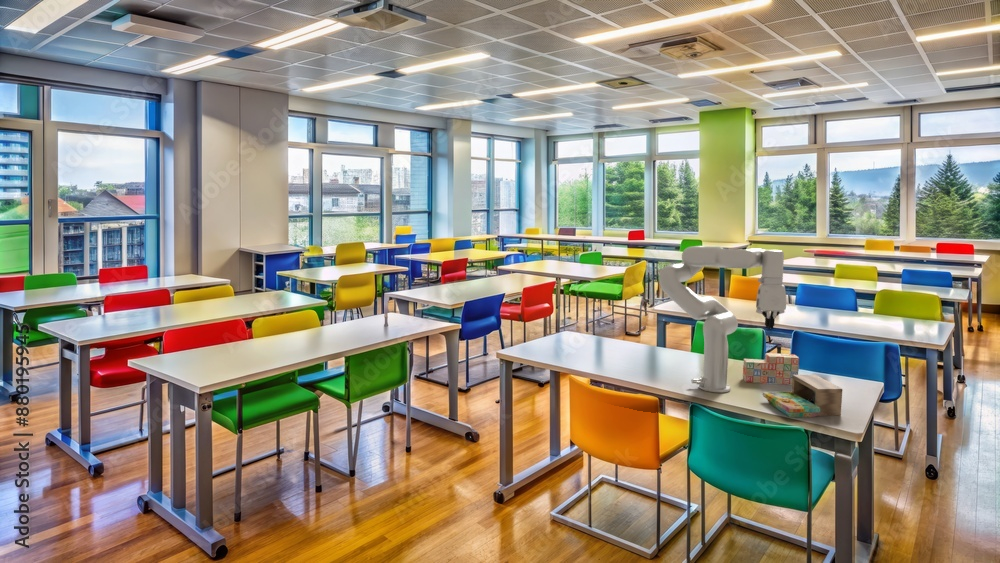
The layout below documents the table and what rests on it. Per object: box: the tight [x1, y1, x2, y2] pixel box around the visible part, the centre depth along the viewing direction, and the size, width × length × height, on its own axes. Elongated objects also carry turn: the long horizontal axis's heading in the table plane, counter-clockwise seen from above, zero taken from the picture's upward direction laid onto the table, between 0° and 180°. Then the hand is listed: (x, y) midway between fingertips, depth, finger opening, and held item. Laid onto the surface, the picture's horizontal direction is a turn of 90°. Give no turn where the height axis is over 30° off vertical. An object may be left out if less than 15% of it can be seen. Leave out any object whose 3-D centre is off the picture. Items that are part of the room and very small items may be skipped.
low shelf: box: [791, 374, 843, 416], centre depth 230 cm, size 9×19×10 cm, turn 0°
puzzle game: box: [761, 391, 820, 418], centre depth 229 cm, size 12×5×20 cm
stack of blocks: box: [742, 352, 800, 385], centre depth 264 cm, size 21×6×12 cm, turn 79°
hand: (769, 327), depth 236 cm, fingers closed
